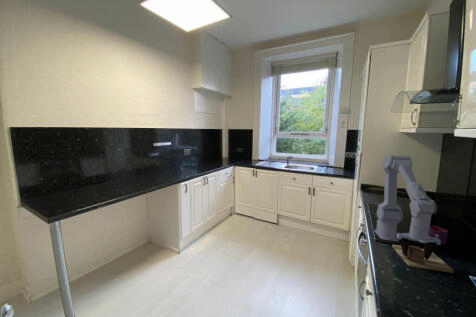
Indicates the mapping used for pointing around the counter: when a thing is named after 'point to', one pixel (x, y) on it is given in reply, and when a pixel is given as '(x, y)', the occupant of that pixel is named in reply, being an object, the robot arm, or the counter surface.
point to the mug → (438, 234)
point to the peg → (415, 254)
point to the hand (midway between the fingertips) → (414, 256)
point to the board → (425, 261)
